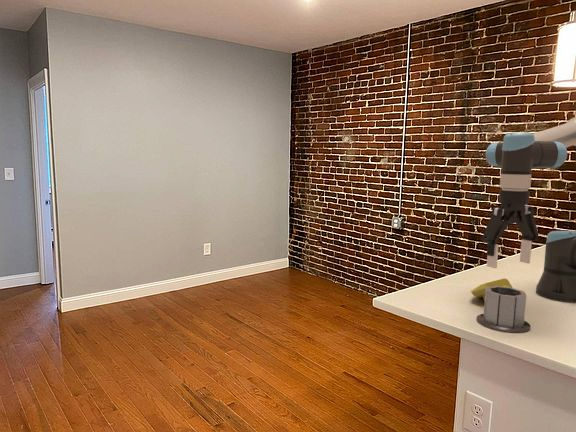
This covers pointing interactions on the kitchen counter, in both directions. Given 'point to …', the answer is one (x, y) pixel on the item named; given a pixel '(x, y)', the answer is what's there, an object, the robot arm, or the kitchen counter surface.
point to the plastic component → (481, 289)
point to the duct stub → (518, 330)
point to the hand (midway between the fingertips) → (508, 264)
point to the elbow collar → (504, 307)
